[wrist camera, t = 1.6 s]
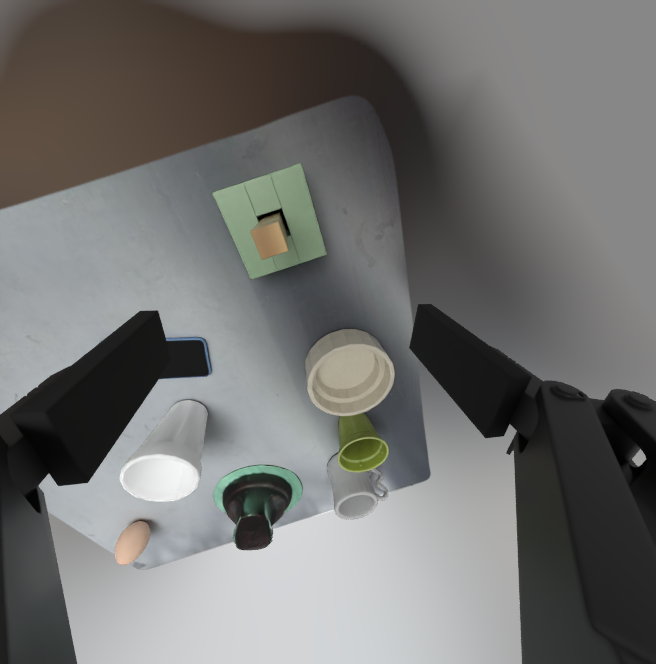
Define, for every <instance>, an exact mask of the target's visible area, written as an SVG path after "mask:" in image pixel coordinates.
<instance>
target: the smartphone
mask: <svg viewBox="0 0 656 664" xmlns="http://www.w3.org/2000/svg"><path fill="white" fill-rule="evenodd" d="M166 341H167V345H168V348H169V352H170V356H171V359H172V360H171V362H170V363H169V365H168V366H167V368H166V369H165V370H164V372H163V373H162V375H161V376H160V378H159V379H171V378H190V377H205V376H208V375H210V373H211V367H210V362H209V356H208V351H207V346H206V342H205V340H204V339H202V338H198V337H194V338H166ZM101 342H102V341H101ZM101 342H100V343H101Z"/></svg>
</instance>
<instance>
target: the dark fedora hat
mask: <svg viewBox="0 0 656 664" xmlns="http://www.w3.org/2000/svg"><path fill="white" fill-rule="evenodd" d="M301 495H302V485H301V483H300V481H299V479H298V478H297V476H296V475H295V474H294V473H292V472H291V471H289V470H286V469H282V468H280V467H275V466H263V465H256V466H251V467H246V468H242V469H239V470H237V471H234V472H232V473H231V474H229V475H227V476H225V477H224V478H223V479H222V480H221V481H219V483H218V484H217V485H216V487H215V489H214V493H213V498H214V501H215V504H216V505H217V506H218V508H219V509H221V510H222V511H223V512H225V513H226V514H227V515H228V517H229V518H230V519H231V520H232V521H233V522H234V523H235V524H236V527H235V529H234V535H233V539H234V543H235V544H236V547H237V548H238V549H241V550H258V549H262V548H265V547H267V546H268V545H269V544H270V543H271V542H272V538H273V537H272V535H273V529H272V525H273V524H274V523H275V522H277V521H278V520H279V519H280V518H281V516H282V515H283V514H284V513H285V512H286V511H288V510H290V509H291V508H292V507H294V506H295V505H296V504H297V503H298V501H299V499H300V498H301Z"/></svg>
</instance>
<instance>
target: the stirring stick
mask: <svg viewBox="0 0 656 664" xmlns="http://www.w3.org/2000/svg"><path fill="white" fill-rule="evenodd" d="M250 233H251V235H252V237H253V240H254V242H255V245H256V247H257V250H258V252H259V254H260V257H261V259H262V260H263V259H266V258H269V257H272V256H275V255H278V254H281V253H284V252H287V251H288V242H287V234H286V227H285V224H284V221H283V218H282V215H281V212H280V211H278V212H275V213H272V214H269V215H266V216H264V217H263V218H262V219H261V220H260V222H259V223H258V224H257V225H256V226H255V227H254V228H253V229H252V230H251V231H250Z"/></svg>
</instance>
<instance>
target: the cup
mask: <svg viewBox="0 0 656 664" xmlns="http://www.w3.org/2000/svg"><path fill="white" fill-rule="evenodd" d="M207 417H208V412H207V409H206V408H205V407H204V406H203V405H202V404H200V403H198V402H196V401H191V400H184V401H180V402H178V403H175V404H174V405H173V406H172V407H171V409H170V410H169V411H168V412H167V414H166V415H165V416H164V418H163V419H162V420H161V421H160V423H159V424H158V425H157V426H156V428H155V429H154V430H153V431H152V433H151V434H150V435H149V436H148V438H147V439H146V440H145V441H144V443H143V444H142V445H141V446H140V448H139V449H138V450H137V452H136V453H135V454H134V455H133V456H132V457H131V458H130V459H129V460H128V461H127V463H126V464H125V465H124V467H123V468H122V469H121V474H120V481H121V483H122V485H123V487H124V489H125V490H126V491H128V492H129V493H130V494H132V495H133V496H135V497H138V498H141V499H144V500H147V501H157V502H166V501H173V500H178V499H180V498H183V497H185V496H188V495H189V494H190V493H192V492H193V491H194V490H195V489H196V488H197V487H198V484H199V481H200V477H201V471H202V466H201V456H202V449H203V442H204V436H205V429H206V422H207Z"/></svg>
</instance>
